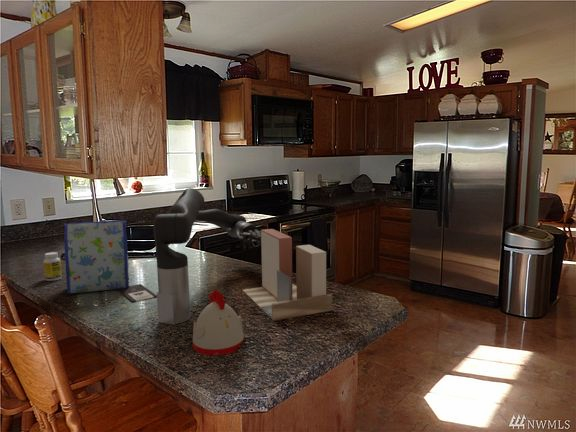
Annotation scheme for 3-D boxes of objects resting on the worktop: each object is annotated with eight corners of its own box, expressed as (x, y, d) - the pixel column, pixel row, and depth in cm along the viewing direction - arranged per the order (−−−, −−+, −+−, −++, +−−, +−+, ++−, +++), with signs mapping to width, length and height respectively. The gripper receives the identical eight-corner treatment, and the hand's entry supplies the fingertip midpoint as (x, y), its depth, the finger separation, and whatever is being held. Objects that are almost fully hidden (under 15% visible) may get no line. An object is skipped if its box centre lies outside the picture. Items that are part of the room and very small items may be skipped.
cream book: (296, 300, 147) (295, 246, 144) (309, 297, 149) (309, 244, 146) (311, 311, 136) (311, 253, 134) (326, 309, 138) (326, 251, 136)
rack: (242, 292, 159) (242, 276, 158) (291, 285, 167) (291, 270, 166) (274, 323, 130) (273, 304, 129) (332, 313, 138) (332, 295, 137)
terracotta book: (261, 287, 162) (260, 229, 159) (273, 285, 164) (272, 228, 160) (279, 302, 145) (278, 238, 142) (292, 300, 147) (291, 237, 144)
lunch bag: (130, 278, 179) (125, 216, 175) (131, 289, 164) (126, 222, 160) (71, 284, 171) (65, 220, 168) (66, 297, 156) (59, 226, 152)
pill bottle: (54, 281, 175) (52, 255, 174) (41, 281, 177) (38, 254, 175) (65, 277, 181) (63, 251, 180) (52, 276, 183) (50, 251, 181)
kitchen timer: (206, 360, 108) (203, 303, 105) (184, 341, 119) (181, 289, 116) (253, 345, 116) (252, 292, 113) (229, 328, 127) (227, 279, 124)
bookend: (261, 307, 140) (260, 272, 138) (279, 305, 143) (278, 270, 141) (272, 318, 131) (271, 280, 129) (291, 315, 134) (291, 278, 132)
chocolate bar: (140, 283, 169) (157, 295, 155) (140, 286, 169) (157, 298, 155) (117, 288, 164) (132, 301, 150) (117, 290, 164) (132, 303, 150)
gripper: (232, 224, 179) (244, 231, 163) (261, 222, 184) (276, 228, 168) (232, 242, 180) (245, 250, 164) (262, 239, 185) (277, 247, 169)
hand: (261, 239), depth 166 cm, fingers closed
